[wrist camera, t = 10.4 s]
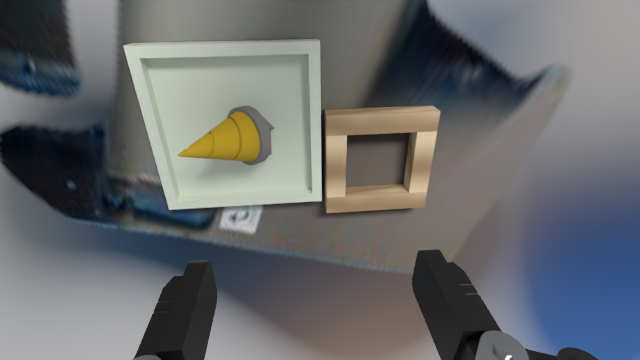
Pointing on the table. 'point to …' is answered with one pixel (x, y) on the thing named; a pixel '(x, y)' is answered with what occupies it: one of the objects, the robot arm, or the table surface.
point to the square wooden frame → (379, 121)
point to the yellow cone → (235, 138)
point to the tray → (214, 106)
